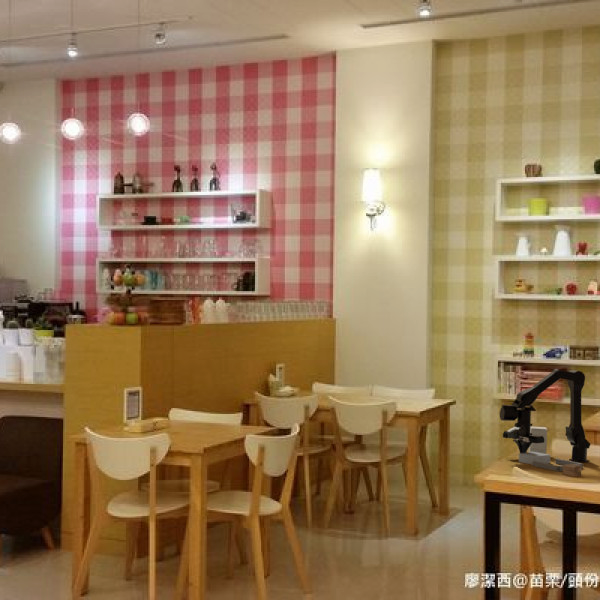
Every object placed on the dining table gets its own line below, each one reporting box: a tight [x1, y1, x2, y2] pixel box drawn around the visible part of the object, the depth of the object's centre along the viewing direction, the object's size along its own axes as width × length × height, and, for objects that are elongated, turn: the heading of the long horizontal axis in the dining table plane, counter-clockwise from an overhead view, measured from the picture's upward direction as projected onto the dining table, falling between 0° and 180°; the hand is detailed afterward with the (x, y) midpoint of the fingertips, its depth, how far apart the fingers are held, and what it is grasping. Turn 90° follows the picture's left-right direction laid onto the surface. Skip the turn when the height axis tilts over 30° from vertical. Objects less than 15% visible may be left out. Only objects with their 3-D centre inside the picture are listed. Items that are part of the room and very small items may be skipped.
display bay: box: [531, 458, 584, 473], centre depth 381 cm, size 16×13×2 cm
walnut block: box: [562, 464, 582, 477], centre depth 364 cm, size 5×5×4 cm
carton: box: [518, 451, 551, 465], centre depth 390 cm, size 10×9×4 cm
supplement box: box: [528, 426, 548, 454], centre depth 410 cm, size 7×7×13 cm
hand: (522, 456), depth 396 cm, fingers closed
